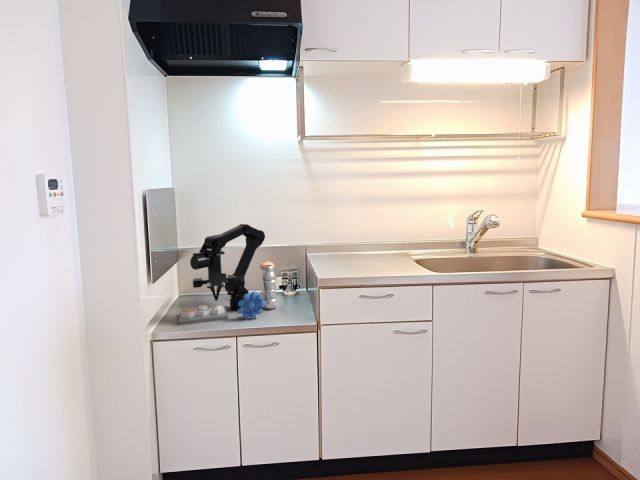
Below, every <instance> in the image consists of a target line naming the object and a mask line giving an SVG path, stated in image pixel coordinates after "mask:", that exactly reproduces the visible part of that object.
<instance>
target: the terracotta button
mask: <svg viewBox="0 0 640 480" xmlns="http://www.w3.org/2000/svg"><path fill="white" fill-rule="evenodd" d="M193 309H194V308H190V307H189V308H184V309H183V310H184V312H185V313H189V312H193Z"/></svg>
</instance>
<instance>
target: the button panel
mask: <svg viewBox="0 0 640 480" xmlns="http://www.w3.org/2000/svg"><path fill="white" fill-rule="evenodd" d="M221 306H222V308H221V309H218V310H215V309H212V307H213V306H207V307H208V310H205V311H198V307H197V308H192V309H193V312H189V313H185V312H184V309H181V310H180V311H179V313H178V325H180V326H182V325H189V324H199V323H208V322H218V321H224V320H225V321H226V320H229V315H228V311H227V309H226V306H224V305H221Z"/></svg>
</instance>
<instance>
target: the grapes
mask: <svg viewBox="0 0 640 480" xmlns="http://www.w3.org/2000/svg"><path fill="white" fill-rule="evenodd" d="M243 299H244V300H240V301H239V303H238V305H239V306H240V308H239V309H238V310H237V312H238V314H239V315H241V316H242V318H243V319H244V320H246V319H248V318H250V319H251V320H253V319H256V317H257V315H261V314H262V313H263V308H265V307H264V306H265V301H264V300H262V299H263V295H262V294H261V293H260V294H259V293H258V292H257V291H255V290H254V291H252V292H250V294H249V293H248V294H245V295H244V296H243Z"/></svg>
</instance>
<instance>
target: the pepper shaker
mask: <svg viewBox="0 0 640 480" xmlns="http://www.w3.org/2000/svg"><path fill="white" fill-rule="evenodd" d="M265 265H273V269H274V268H275V264H274V263H273V262H271V261H269V260H265V261H264V262H261V263H260V264H259V268H260V269H261V277H262V276H263V274H264V272H265ZM260 288H261V289H260V290H261V291H260V294H262V295H263V299H262V300H264V285H263V279H262V278H261V284H260Z"/></svg>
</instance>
